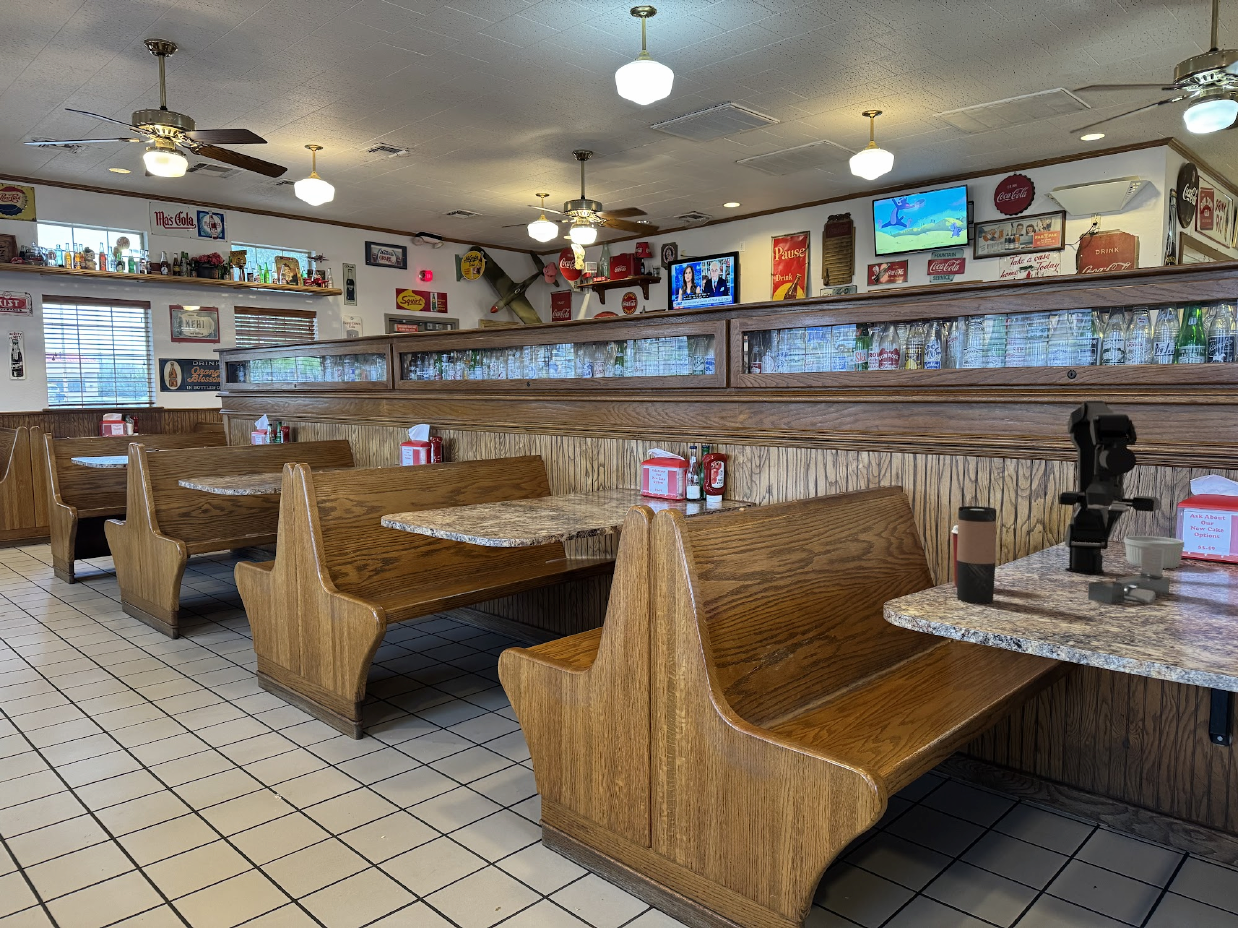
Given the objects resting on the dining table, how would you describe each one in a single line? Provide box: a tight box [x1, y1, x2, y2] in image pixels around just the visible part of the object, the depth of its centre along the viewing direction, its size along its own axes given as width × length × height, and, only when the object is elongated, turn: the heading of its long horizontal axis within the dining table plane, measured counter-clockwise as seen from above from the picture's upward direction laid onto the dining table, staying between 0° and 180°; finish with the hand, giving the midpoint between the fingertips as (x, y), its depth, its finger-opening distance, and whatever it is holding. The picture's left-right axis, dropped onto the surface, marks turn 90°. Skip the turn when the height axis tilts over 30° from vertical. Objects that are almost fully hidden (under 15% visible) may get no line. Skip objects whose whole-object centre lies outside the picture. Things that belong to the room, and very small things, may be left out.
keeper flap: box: [1139, 547, 1164, 578], centre depth 181 cm, size 4×1×6 cm, turn 27°
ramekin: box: [1123, 535, 1185, 570], centre depth 213 cm, size 13×13×7 cm
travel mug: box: [956, 505, 997, 605], centre depth 174 cm, size 8×8×20 cm
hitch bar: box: [1087, 574, 1171, 605], centre depth 177 cm, size 5×21×4 cm, turn 117°
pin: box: [1103, 579, 1156, 605], centre depth 175 cm, size 10×7×3 cm
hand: (1106, 538), depth 183 cm, fingers closed
